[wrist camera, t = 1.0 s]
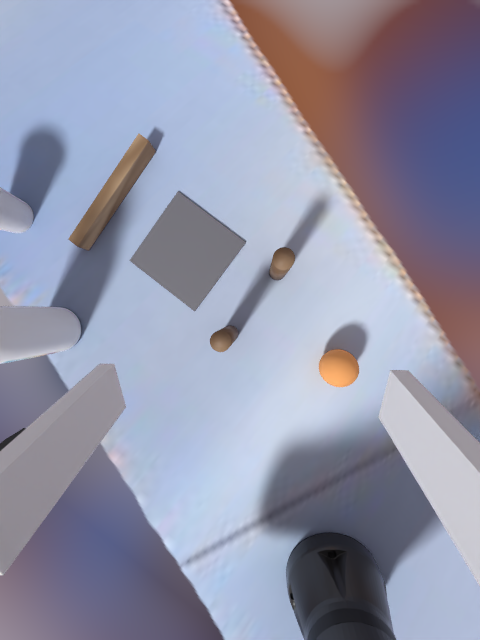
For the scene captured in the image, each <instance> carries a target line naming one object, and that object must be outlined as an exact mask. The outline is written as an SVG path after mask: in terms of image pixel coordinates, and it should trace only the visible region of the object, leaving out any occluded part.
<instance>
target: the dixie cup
mask: <svg viewBox="0 0 480 640" xmlns="http://www.w3.org/2000/svg"><path fill="white" fill-rule="evenodd" d="M32 223H33V211H32V209H31V207H30V206H29V205H28V204H27V203H26V202H24V201H22V200H21V199H19V198H17V197H16V196H14V195H12V194H11V193H9V192H7V191H6V190H4V189H2V188H1V187H0V230H3V231H9V232H14V233H23V232H26V231H27V230H28V229H29V228H30V227H31V225H32Z"/></svg>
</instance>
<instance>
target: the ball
mask: <svg viewBox="0 0 480 640" xmlns="http://www.w3.org/2000/svg"><path fill="white" fill-rule="evenodd" d="M319 371H320V374H321V376H322V378H323V379H324V380H325V381H326V382H327V383H329V384H330V385H333V386H336V387H345V386H348V385H350V384H352V383H353V382H354V381H355V380H356V379H357V377H358V374H359V365H358V362H357V360H356V359H355V357H354V356H353V355H352V354H350V353H349V352H347V351H344V350H340V349H335V350H331V351H328V352H327V353H325V354H324V355H323V356H322V358H321V360H320V362H319Z"/></svg>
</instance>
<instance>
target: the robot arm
mask: <svg viewBox="0 0 480 640" xmlns="http://www.w3.org/2000/svg"><path fill="white" fill-rule="evenodd" d="M125 408H126V405H125V401H124V398H123V394H122V391H121V387H120V383H119V380H118V376H117V372H116V369H115V365H114V364H99V365H98V366H97V367H95V368H94V369H93V370H92V371H91V372H90V373H89V374H87V375H86V376H85V377H84V378H83V379H82V380H81V381H79V382H78V383H77V384H76V385H75V386H74V387H73V388H72V389H70V390H69V391H68V392H67V393H66V394H65V395H64V396H63V397H61V398H60V399H59V400H58V401H57V402H56V403H55V404H53V405H52V406H51V407H50V408H49V409H48V410H47V411H45V412H44V413H43V414H42V415H41V416H40V417H39V418H38V419H36V420H35V421H34V422H33V423H32V424H31V425H30V426H28V427H27V428H23V429H22V430H20V431H19V432H17V433H15V434H13V435H12V436H10V437H9V438H7V439H5V440H4V441H3V442H2V443H1V444H0V575H4V574H5V573H6V571H7V570H8V568H9V567H10V566H11V564H12V563H13V562H14V560H15V559H16V558H17V556H18V555H19V553H20V552H21V551H22V549H23V548H24V546H25V545H26V544H27V542H28V541H29V540H30V538H31V537H32V535H33V534H34V533H35V531H36V530H37V529H38V527H39V526H40V525H41V523H42V522H43V520H44V519H45V517H46V516H47V515H48V513H49V512H50V511H51V509H52V508H53V507H54V505H55V504H56V503H57V501H58V500H59V498H60V497H61V496H62V494H63V493H64V492H65V490H66V489H67V487H68V486H69V485H70V483H71V482H72V480H73V479H74V478H75V476H76V475H77V473H78V472H79V471H80V470H81V468H82V467H83V465H84V464H85V463H86V461H87V460H88V459H89V457H90V456H91V454H92V453H93V452H94V450H95V449H96V447H97V446H98V445H99V444H100V442H101V441H102V439H103V438H104V437H105V435H106V434H107V433H108V431H109V430H110V428H111V427H112V426H113V424H114V423H115V422H116V420H117V419H118V417H119V416H120V415H121V413H122V412H123V411H124V409H125ZM378 417H379V419H380V420H381V422H382V424H383V425H384V427H385V429H386V430H387V432H388V434H389V435H390V437H391V439H392V441H393V442H394V444H395V446H396V447H397V449H398V451H399V452H400V454H401V456H402V457H403V459H404V461H405V462H406V464H407V466H408V467H409V469H410V471H411V472H412V474H413V476H414V477H415V479H416V481H417V482H418V484H419V486H420V487H421V489H422V491H423V492H424V494H425V496H426V497H427V499H428V501H429V502H430V504H431V506H432V507H433V509H434V511H435V512H436V514H437V516H438V517H439V519H440V521H441V522H442V524H443V526H444V527H445V529H446V531H447V532H448V534H449V536H450V537H451V539H452V541H453V542H454V544H455V546H456V547H457V549H458V551H459V552H460V554H461V556H462V557H463V559H464V561H465V562H466V564H467V566H468V567H469V569H470V571H471V572H472V574H473V576H474V577H475V579H476V581H477V582H478V584H479V586H480V443H479V442H478V441H477V440H476V439H475V438H474V437H473V436H472V435H471V434H470V433H469V432H468V431H467V429H466V428H465V427H464V426H463V425H462V424H461V423H460V422H459V421H458V420H457V419H456V418H455V417H454V416H453V415H452V414H451V413H450V412H449V411H448V410H447V409H446V408H445V407H444V406H443V405H442V404H441V403H440V402H439V401H438V400H437V399H436V398H435V397H434V396H433V395H432V394H431V393H430V392H429V391H428V390H427V389H426V388H425V387H424V386H423V385H422V384H421V383H420V382H419V381H418V380H417V379H416V378H415V377H414V376H413V375H412V374H411V373H410V372H409V371H406V370H390V373H389V377H388V381H387V385H386V389H385V393H384V397H383V401H382V405H381V408H380V412H379V416H378ZM286 579H287V588H288V595H289V599H290V603H291V605H292V608H293V610H294V613H295V616H296V619H297V622H298V624H299V627H300V630H301V632H302V635H303V638H304V640H396V638H395V635H394V632H393V627H392V622H391V616H390V611H389V606H388V601H387V594H386V586H385V583H384V580H383V577H382V575H381V573H380V570H379V568H378V566H377V564H376V562H375V560H374V558H373V556H372V555H371V553H370V552H369V551H368V550H367V549H366V548H365V547H364V546H363V545H362V544H360V543H359V542H357V541H356V540H354V539H352V538H350V537H348V536H345V535H341V534H336V533H322V534H317V535H314V536H311V537H309V538H307V539H305V540H304V541H302V542H301V543H300V544H299V545H298V546H297V547H296V548H295V549H294V550H293V552H292V553H291V555H290V557H289V560H288V563H287V568H286Z"/></svg>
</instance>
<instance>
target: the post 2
mask: <svg viewBox="0 0 480 640" xmlns="http://www.w3.org/2000/svg"><path fill="white" fill-rule="evenodd" d="M294 261H295V255H294V253H293V251H292V250H291V249H289V248H286V247H283V248H279V249H278V250H276V251H275V253H274V255H273V259H272V263H271V267H270V271H269V273H270V276H271V278H272V279H274V280H281V279H282V278H283V277H284V276H285V275H286V273H287V272H288V271H289V269H290V268H291V267H292V265H293V264H294Z"/></svg>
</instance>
